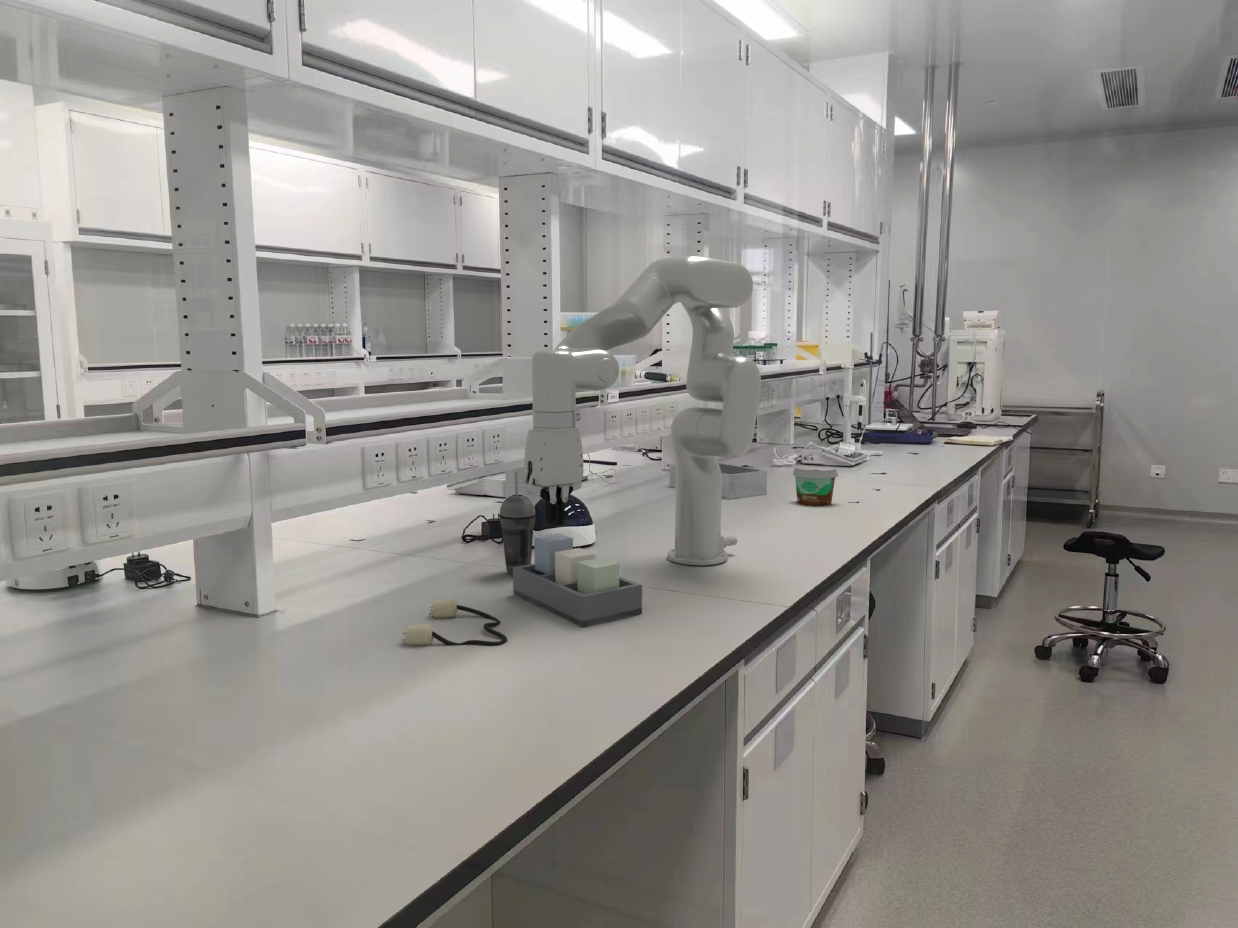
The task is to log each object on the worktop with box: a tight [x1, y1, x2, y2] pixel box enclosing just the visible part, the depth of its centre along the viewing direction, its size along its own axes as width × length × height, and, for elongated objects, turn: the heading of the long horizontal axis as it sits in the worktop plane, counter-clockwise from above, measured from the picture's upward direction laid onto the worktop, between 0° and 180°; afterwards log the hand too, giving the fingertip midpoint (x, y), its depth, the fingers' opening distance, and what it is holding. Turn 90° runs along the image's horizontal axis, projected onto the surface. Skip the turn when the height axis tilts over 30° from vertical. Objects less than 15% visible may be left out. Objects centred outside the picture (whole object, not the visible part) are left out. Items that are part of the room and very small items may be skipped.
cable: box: [401, 598, 508, 647], centre depth 139 cm, size 16×16×4 cm
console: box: [512, 563, 643, 628], centre depth 153 cm, size 12×22×5 cm, turn 36°
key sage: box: [577, 557, 620, 594], centre depth 146 cm, size 5×5×6 cm
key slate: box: [533, 532, 574, 574], centre depth 157 cm, size 5×5×6 cm
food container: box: [792, 467, 839, 507], centre depth 244 cm, size 12×6×10 cm, turn 73°
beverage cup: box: [498, 471, 537, 577], centre depth 171 cm, size 7×7×20 cm
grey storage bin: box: [669, 462, 768, 500], centre depth 267 cm, size 15×27×7 cm, turn 36°
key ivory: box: [555, 547, 596, 584], centre depth 152 cm, size 5×5×6 cm
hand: (555, 523), depth 156 cm, fingers closed
